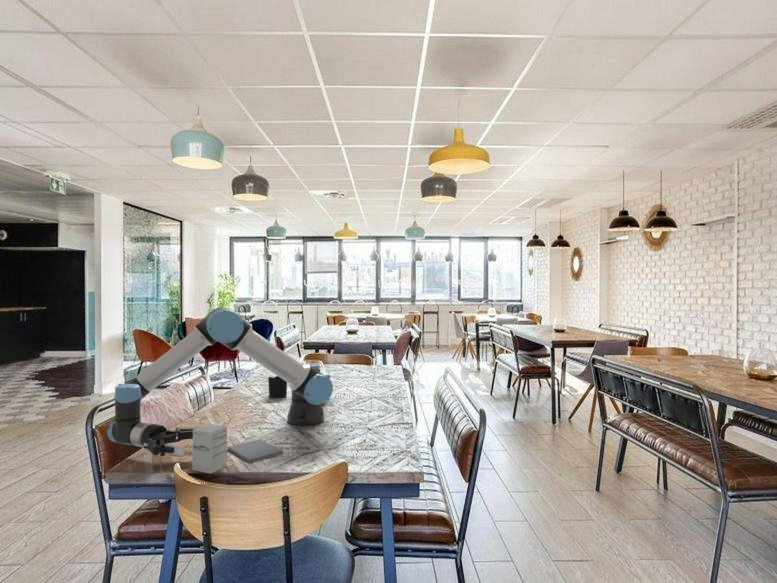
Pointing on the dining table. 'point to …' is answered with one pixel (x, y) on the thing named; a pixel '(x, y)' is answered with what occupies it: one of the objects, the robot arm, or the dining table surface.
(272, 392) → the pen holder
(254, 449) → the slate mat
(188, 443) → the dining table surface
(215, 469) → the supplement box
